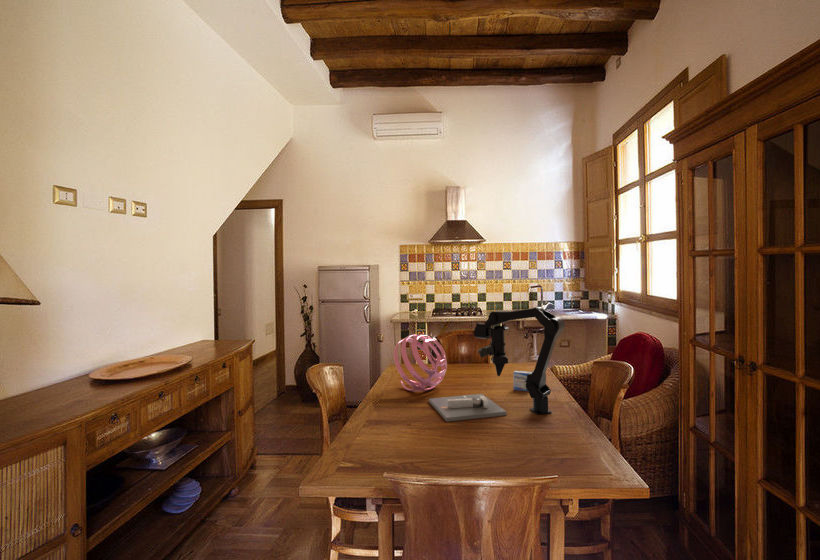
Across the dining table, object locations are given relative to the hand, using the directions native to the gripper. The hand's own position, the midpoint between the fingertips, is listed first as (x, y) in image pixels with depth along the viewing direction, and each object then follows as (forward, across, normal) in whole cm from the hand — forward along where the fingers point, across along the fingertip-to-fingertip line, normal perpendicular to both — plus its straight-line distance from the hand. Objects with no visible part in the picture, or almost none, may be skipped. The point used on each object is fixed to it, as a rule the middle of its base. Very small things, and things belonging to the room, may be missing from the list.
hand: (498, 375), depth 184 cm
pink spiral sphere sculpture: (+12, -20, -35) cm, 42 cm away
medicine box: (+12, -21, +13) cm, 27 cm away
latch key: (+10, +10, -14) cm, 20 cm away
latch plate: (+12, +7, -15) cm, 20 cm away
